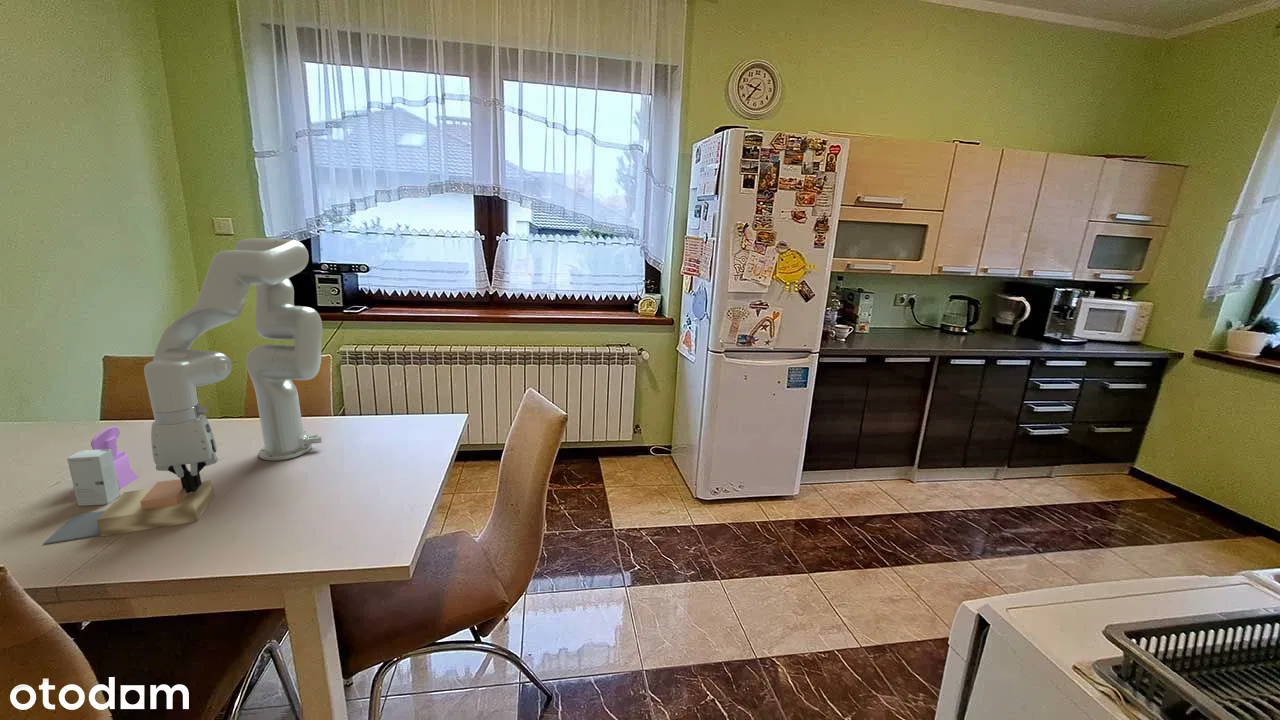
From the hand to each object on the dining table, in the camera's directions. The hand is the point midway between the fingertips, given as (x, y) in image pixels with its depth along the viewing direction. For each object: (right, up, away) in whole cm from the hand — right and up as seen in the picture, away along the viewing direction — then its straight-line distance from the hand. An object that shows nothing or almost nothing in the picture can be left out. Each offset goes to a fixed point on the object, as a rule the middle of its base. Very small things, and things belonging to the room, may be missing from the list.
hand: (193, 489), depth 117 cm
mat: (-17, -6, -6) cm, 20 cm away
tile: (-4, -1, -2) cm, 5 cm away
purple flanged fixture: (-30, -1, +11) cm, 32 cm away
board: (-6, -5, -1) cm, 8 cm away
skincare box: (-25, -4, +3) cm, 25 cm away
